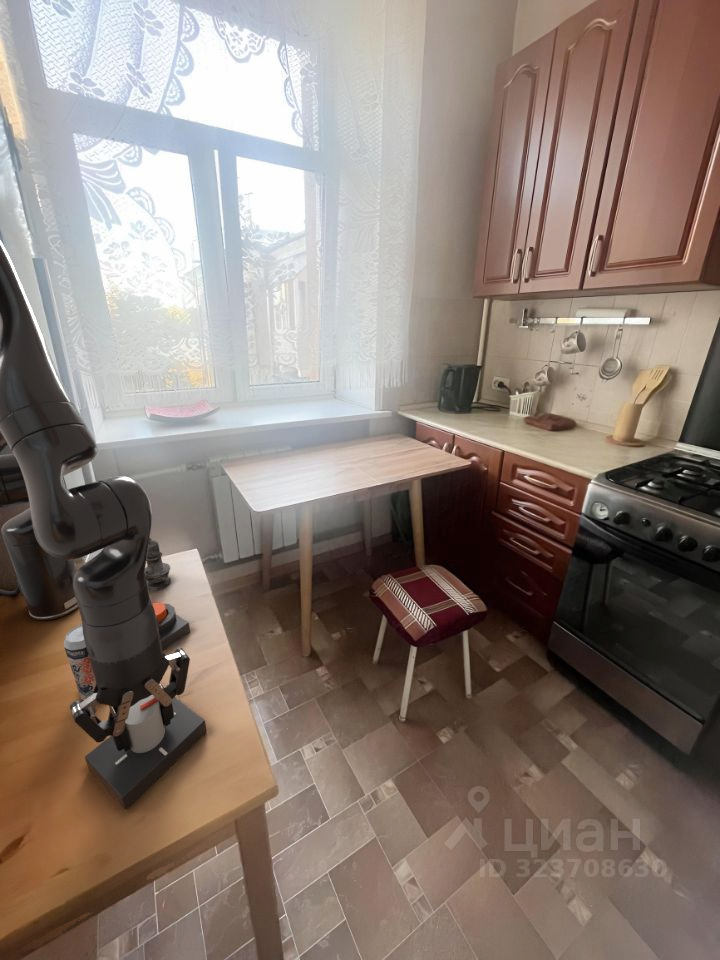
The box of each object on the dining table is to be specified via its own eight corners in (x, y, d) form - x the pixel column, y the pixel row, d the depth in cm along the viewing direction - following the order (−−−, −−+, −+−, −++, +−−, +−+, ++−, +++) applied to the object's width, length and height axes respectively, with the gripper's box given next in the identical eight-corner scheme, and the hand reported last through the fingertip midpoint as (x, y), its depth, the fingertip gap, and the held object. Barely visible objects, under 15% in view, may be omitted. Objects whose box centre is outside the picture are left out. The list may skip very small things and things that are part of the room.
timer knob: (135, 760, 52) (126, 730, 49) (125, 736, 55) (117, 706, 52) (169, 738, 54) (163, 708, 52) (158, 716, 57) (152, 687, 55)
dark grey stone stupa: (161, 593, 87) (152, 546, 82) (138, 589, 88) (128, 542, 83) (178, 577, 92) (170, 532, 88) (155, 573, 93) (147, 529, 89)
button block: (125, 632, 76) (121, 615, 74) (159, 611, 81) (156, 596, 80) (156, 654, 71) (153, 637, 70) (190, 631, 77) (187, 615, 75)
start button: (139, 618, 74) (137, 611, 74) (158, 607, 77) (157, 599, 77) (151, 627, 72) (150, 619, 72) (171, 614, 75) (169, 607, 75)
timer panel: (88, 768, 53) (84, 755, 52) (169, 702, 62) (167, 689, 61) (125, 810, 49) (121, 797, 48) (207, 732, 58) (205, 719, 57)
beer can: (73, 696, 63) (54, 638, 58) (102, 674, 67) (85, 618, 62) (94, 707, 61) (76, 648, 57) (122, 683, 65) (107, 627, 61)
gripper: (171, 596, 55) (186, 686, 61) (45, 649, 46) (78, 749, 52) (194, 624, 50) (208, 718, 56) (59, 690, 41) (93, 795, 47)
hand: (146, 733), depth 54 cm, fingers closed on timer knob, 4 cm apart
